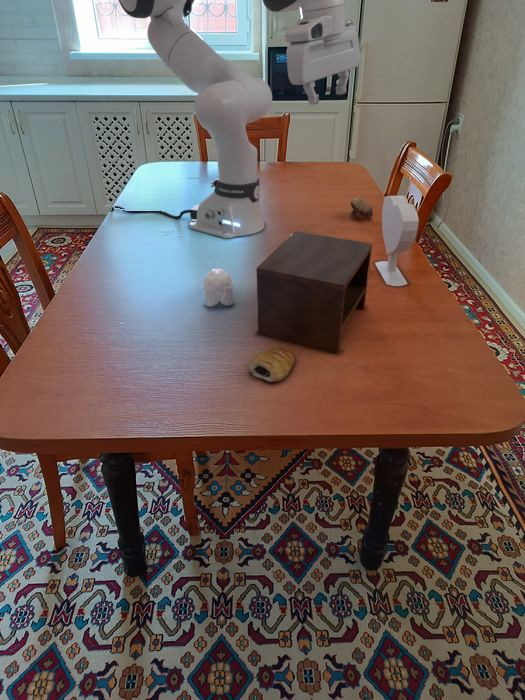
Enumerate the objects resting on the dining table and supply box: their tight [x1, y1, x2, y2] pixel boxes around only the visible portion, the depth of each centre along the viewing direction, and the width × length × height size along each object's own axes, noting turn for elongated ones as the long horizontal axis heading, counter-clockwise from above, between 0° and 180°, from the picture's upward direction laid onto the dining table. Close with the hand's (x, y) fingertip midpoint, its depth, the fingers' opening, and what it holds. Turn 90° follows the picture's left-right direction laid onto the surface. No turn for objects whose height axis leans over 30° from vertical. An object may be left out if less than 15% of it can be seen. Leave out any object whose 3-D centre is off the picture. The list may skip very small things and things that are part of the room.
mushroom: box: [348, 197, 374, 220], centre depth 149 cm, size 8×8×6 cm
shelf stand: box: [256, 230, 373, 355], centre depth 99 cm, size 17×19×15 cm
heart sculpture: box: [374, 195, 420, 287], centre depth 115 cm, size 16×5×18 cm, turn 4°
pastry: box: [248, 345, 296, 383], centre depth 90 cm, size 9×7×4 cm
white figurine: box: [203, 268, 234, 308], centre depth 110 cm, size 6×8×12 cm
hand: (327, 99), depth 109 cm, fingers open, 8 cm apart
